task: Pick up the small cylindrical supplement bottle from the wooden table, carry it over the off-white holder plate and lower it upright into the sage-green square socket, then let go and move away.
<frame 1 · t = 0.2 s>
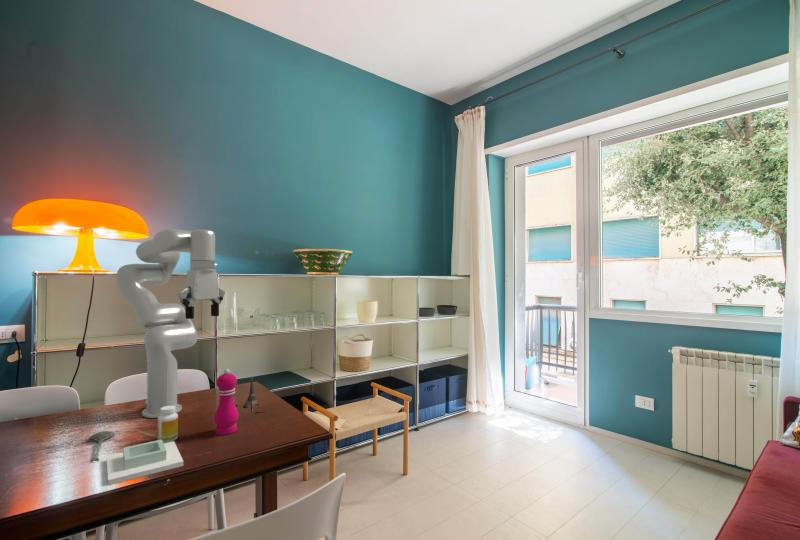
hand: (202, 317, 134), 36 cm above the table, tool pointing down, fingers open, 9 cm apart
pepper mill: (226, 431, 128), on the table
cup holder: (144, 463, 106), on the table
supplement bottle: (167, 440, 122), on the table
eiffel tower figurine: (250, 409, 151), on the table
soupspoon: (99, 449, 116), on the table
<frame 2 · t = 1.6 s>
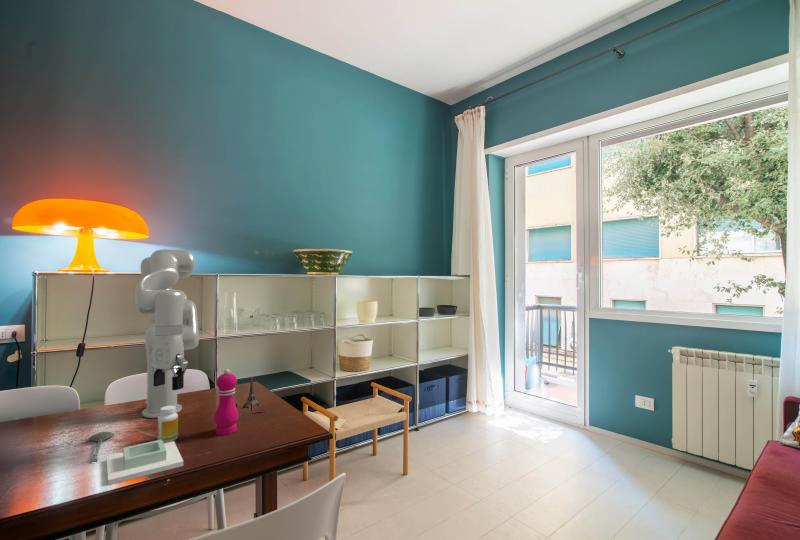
hand: (168, 387, 121), 16 cm above the table, tool pointing down, fingers open, 9 cm apart
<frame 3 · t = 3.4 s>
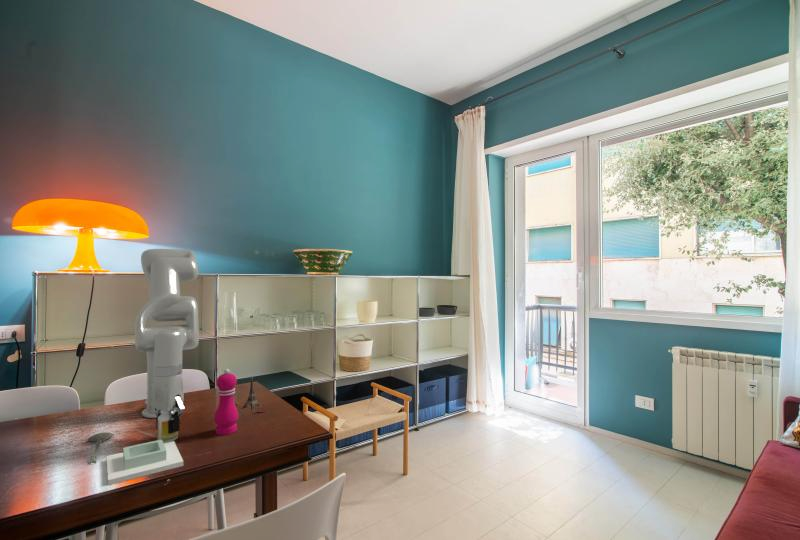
hand: (167, 429, 122), 3 cm above the table, tool pointing down, fingers closed on supplement bottle, 5 cm apart
supplement bottle: (167, 440, 122), on the table, touching gripper
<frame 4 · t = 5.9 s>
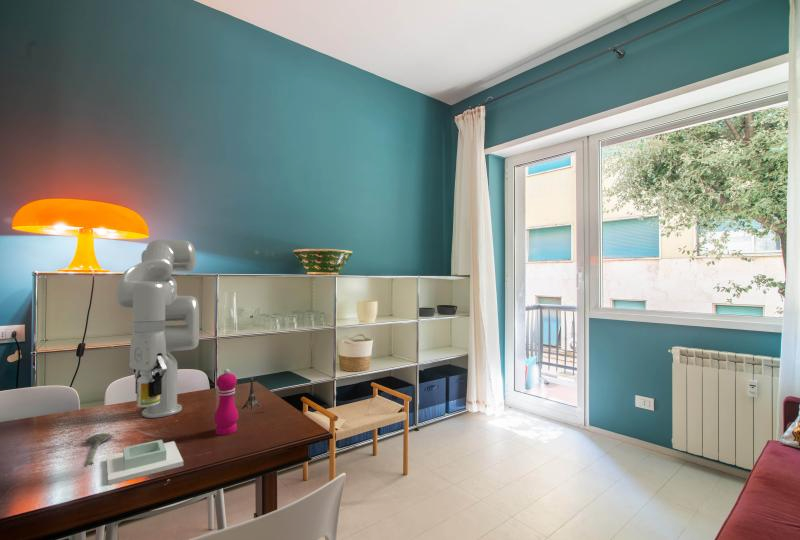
hand: (148, 393, 108), 18 cm above the table, tool pointing down, fingers closed on supplement bottle, 5 cm apart
supplement bottle: (148, 405, 108), point 15 cm above the table, touching gripper
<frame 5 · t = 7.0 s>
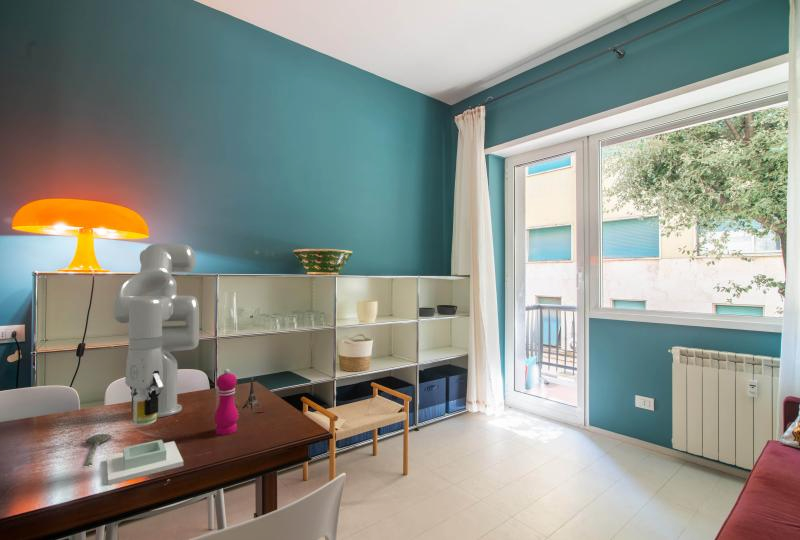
hand: (144, 411, 106), 14 cm above the table, tool pointing down, fingers closed on supplement bottle, 5 cm apart
supplement bottle: (144, 423, 106), point 11 cm above the table, touching gripper
when the fingers open (5 cm above the table, at t = 8.9 s): supplement bottle stays where it is, resting on cup holder.
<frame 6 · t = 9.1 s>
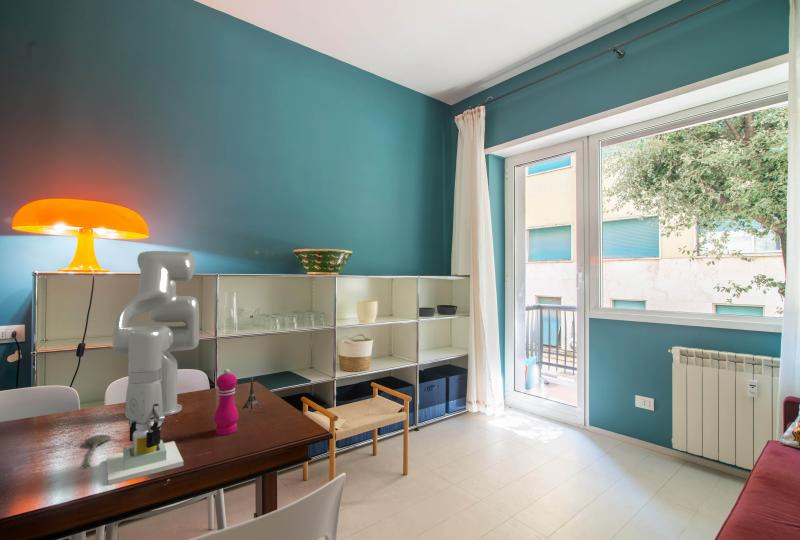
hand: (144, 442, 106), 6 cm above the table, tool pointing down, fingers open, 7 cm apart
supplement bottle: (144, 458, 106), point 1 cm above the table, touching cup holder
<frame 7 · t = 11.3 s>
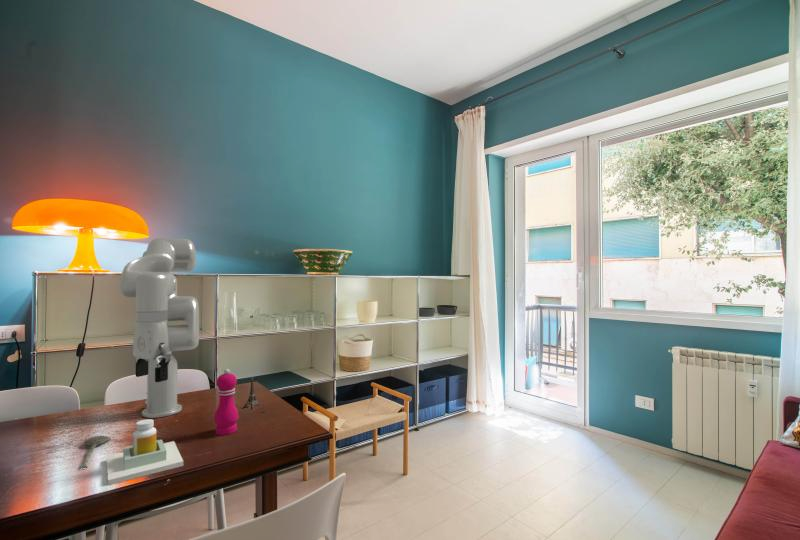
hand: (151, 378, 111), 21 cm above the table, tool pointing down, fingers open, 9 cm apart
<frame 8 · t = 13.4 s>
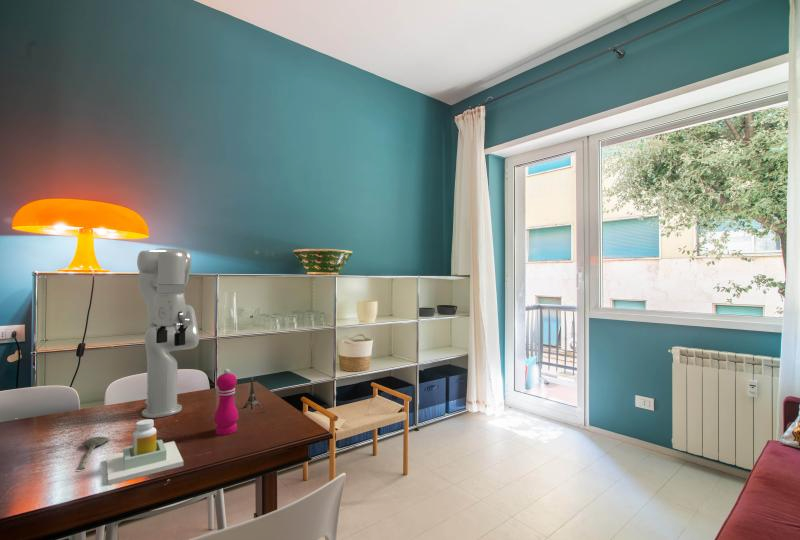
hand: (170, 344, 127), 28 cm above the table, tool pointing down, fingers open, 9 cm apart
at the end: supplement bottle 0.2 cm off-centre on the cup holder, point 1.0 cm above the cup holder's base; supplement bottle tilted 0°; the gripper is holding nothing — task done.
